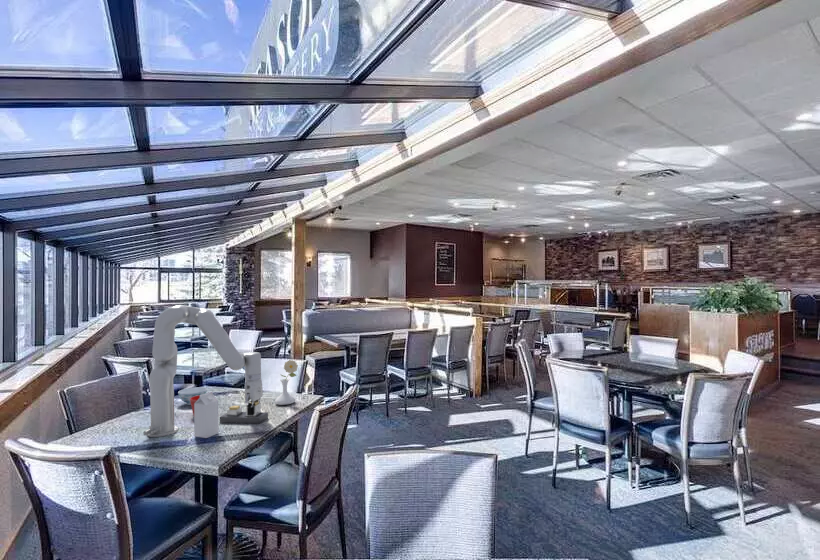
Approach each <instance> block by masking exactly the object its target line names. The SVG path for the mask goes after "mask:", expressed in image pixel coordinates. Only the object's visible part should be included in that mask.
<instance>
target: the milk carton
mask: <svg viewBox="0 0 820 560" xmlns="http://www.w3.org/2000/svg"><path fill="white" fill-rule="evenodd" d="M193 419H194V437H197V438H203V439H208V438H210V437H212V436H216V435H217V434H219V433H220V432H219V431H220V430H219V429H220V428H219V426H220V425H219V400H218V399H217V398H216V396H215V395H214V393H213V391H210V392H206V394H203V395H200V398H199V399H198V400H197V401H196V402H195V403H194V416H193Z"/></svg>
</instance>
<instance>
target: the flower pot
mask: <svg viewBox="0 0 820 560" xmlns="http://www.w3.org/2000/svg"><path fill="white" fill-rule="evenodd" d="M199 398H200V395H198V396H194V397H192V398H190V402H191V405H190V406H191V412H192V415H193V417H194V403H195V402H196V401H197V400H198V399H199Z"/></svg>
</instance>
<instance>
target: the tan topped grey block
mask: <svg viewBox="0 0 820 560" xmlns="http://www.w3.org/2000/svg"><path fill="white" fill-rule="evenodd" d="M242 412H243V408H242V406H240V405H232V406H229V408H228V409H226V413H227V416H239V415H241V414H242Z"/></svg>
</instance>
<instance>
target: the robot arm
mask: <svg viewBox="0 0 820 560" xmlns="http://www.w3.org/2000/svg"><path fill="white" fill-rule="evenodd" d="M182 323H184V324H190V325H196V326H197V327H198V329H200V331H201V332H202V333H203V335H204V336H205V338H206V339H207V340H208V341H209V343H210V344H211V345H212V347H213V348H214V349H215V351H216V352H217V354H218V355H219V357H221V360H223V362H224V363H225V364H226V365H227V366H228V368H229V369H230V370H232V371H240V370H241V369H243V368H244V379H245V380H244V381H245V384H244V400H245V401H244V404H245V406H247V415H254V407H253V402H254V401H259V403H261V399H262V397H263V396H264V395H263V393H264V391H263V380H262V356H261V352H258V351H250V352H239V351H238V350H237V348H236V346H235V345H234V344H233V342H232V340H231V339H230V336H229V334H228V332H227V331H226V330H225V329H224V327H223V326H222V325H221V324H220V322H219V321H218V319H217V318H216V317H215V314H214V312H213V311H212V310H210V309H207V308H201V307H200V308H199V307H195V306H189V305H183V304H178V305H174V306H171V307H169V308H166V309H164V310H163V311H162V312H161V313H159V314H158V316H157V318H156V320H155V322H154V330H153V331H154V332H153V342H152V350H151V351H152V354H151V355H152V357H153V359H154V368H152V370H151V371H150V374H149V377H148V382H149V391H150V392H149V395H150V397H149V398H150V399H149V400H150V403H149V404H150V425H149V426H148V427H149V428H148V429H146V430H144V431H143V433H142V434H143V435H144V436H147V437H150V438H159V437H166V436H170V435H172V434H175V433H177V432H178V431H179V427H178V426H176V425H175V388H174V377H175V376H176V375H177V367H178V366H177V365H178V346H177V344H176V343H175V336H176V335H175V334H176V326H177V325H178V324H182ZM250 402H251V403H250Z"/></svg>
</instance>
